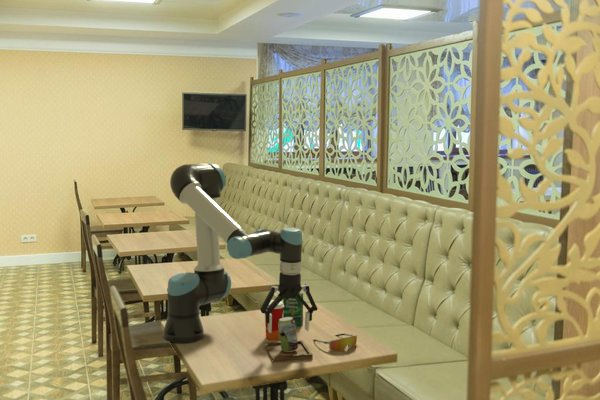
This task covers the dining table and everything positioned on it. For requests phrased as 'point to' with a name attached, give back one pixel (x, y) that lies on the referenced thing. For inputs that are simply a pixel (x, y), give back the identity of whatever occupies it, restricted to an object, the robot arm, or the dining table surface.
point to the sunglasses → (341, 342)
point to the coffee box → (294, 309)
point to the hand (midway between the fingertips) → (288, 330)
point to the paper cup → (275, 322)
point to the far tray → (282, 356)
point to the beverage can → (287, 334)
